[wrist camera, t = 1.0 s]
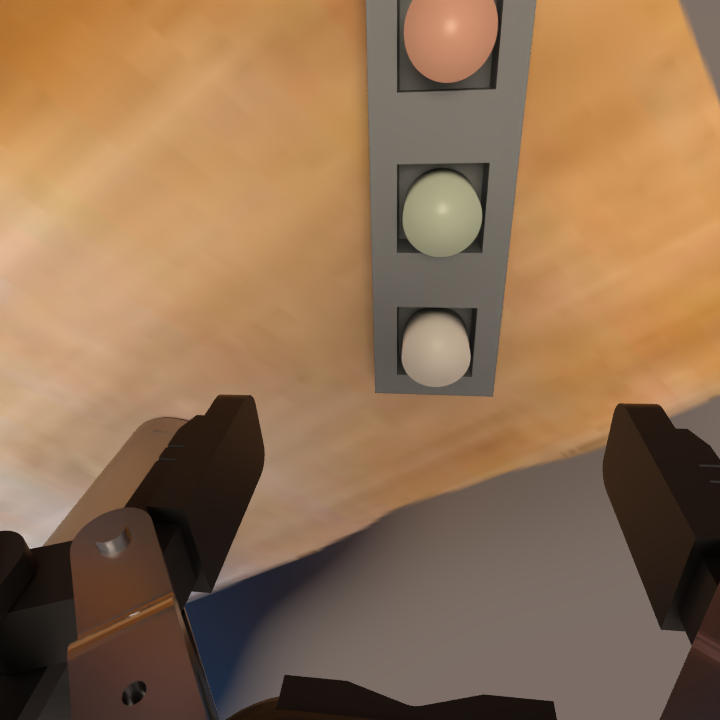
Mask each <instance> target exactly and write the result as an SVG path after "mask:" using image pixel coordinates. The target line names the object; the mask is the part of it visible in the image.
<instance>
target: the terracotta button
mask: <svg viewBox="0 0 720 720" xmlns="http://www.w3.org/2000/svg"><path fill="white" fill-rule="evenodd" d="M497 30H498V15H497V10H496V5H495V3H494V0H412V2H411V4H410V6H409V9H408V11H407V15H406V18H405V24H404V42H405V47H406V51H407V54H408V56H409V58H410V60H411V62H412V64H413V65H414V66H415V68H416V69H417V70H418V71H419V72H420V73H421V74H423V75H424V76H425V77H427V78H429V79H431V80H433V81H436V82H441V83H451V82H457V81H460V80H463V79H465V78H467V77H469V76H471V75H472V74H473V73H475V72H476V71H477V70H478V69H479V68H480V67H481V66H482V65H483V64H484V63H485V61H486V60H487V58H488V57H489V55H490V53H491V51H492V49H493V46H494V44H495V40H496V36H497Z"/></svg>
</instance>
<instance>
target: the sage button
mask: <svg viewBox="0 0 720 720" xmlns="http://www.w3.org/2000/svg"><path fill="white" fill-rule="evenodd" d="M402 220H403V228H404V232H405V234H406V237H407V239H408V240H409V242H410V243H411V244H412V245H413V246H414V247H415V248H416V249H417V250H419V251H420V252H422V253H424V254H426V255H429V256H433V257H448V256H452V255H455V254H457V253H459V252H461V251H463V250H464V249H466V248H467V247H468V246H469V245H470V244H471V243H472V242H473V241H474V239H475V238H476V236H477V234H478V232H479V230H480V227H481V223H482V208H481V205H480V202H479V199H478V197H477V194H476V192H475V189H474V187H473V185H472V183H471V182H470V181H469V179H468V178H467V177H466V176H465V175H463V174H462V173H461V172H459V171H457V170H454V169H450V168H435V169H431V170H429V171H426V172H424V173H423V174H421V175H420V176H419V177H418V178H416V179H415V181H414V182H413V183H412V184H411V186H410V187H409V190H408V192H407V195H406V198H405V204H404V210H403V219H402Z"/></svg>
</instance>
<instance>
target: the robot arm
mask: <svg viewBox="0 0 720 720" xmlns="http://www.w3.org/2000/svg"><path fill="white" fill-rule="evenodd" d="M264 456H265V453H264V444H263V439H262V434H261V429H260V424H259V419H258V414H257V409H256V404H255V401H254V398H253V397H252V396H251V395H218V396H217V397H216V399H215V400H214V402H213V403H212V405H211V406H210V408H209V409H208V411H207V413H206V414H205V416H204V415H196V416H195V417H194V418H192V419H191V420H190V421H184V420H180V419H175V418H160V419H154V420H151V421H148V422H146V423H144V424H143V425H141V426H140V427H138V429H137V430H136V431H135V432H134V433H133V435H132V436H131V437H130V438H129V439H128V441H127V442H126V443H125V444H124V446H123V447H122V448H121V449H120V451H119V452H118V453H117V454H116V456H115V457H114V458H113V459H112V460H111V461H110V463H109V464H108V465H107V466H106V468H105V469H104V470H103V471H102V473H101V474H100V475H99V476H98V478H97V479H96V480H95V481H94V483H93V484H92V485H91V486H90V488H89V489H88V490H87V491H86V493H85V494H84V495H83V496H82V498H81V499H80V500H79V501H78V503H77V504H76V505H75V506H74V508H73V509H72V510H71V511H70V513H69V514H68V515H67V516H66V518H65V519H64V520H63V521H62V523H61V524H60V525H59V526H58V527H57V529H56V530H55V531H54V532H53V534H52V535H51V536H50V537H49V539H48V540H47V541H46V542H45V544H44V545H43V546H42V547H38V548H33V549H29V547H28V546H27V544H26V542H25V540H24V538H23V537H22V536H21V535H20V534H18V533H16V532H13V531H0V720H220V718H219V715H218V712H217V710H216V707H215V703H214V700H213V697H212V694H211V691H210V688H209V685H208V682H207V678H206V675H205V672H204V668H203V665H202V662H201V659H200V655H199V652H198V649H197V645H196V642H195V639H194V636H193V632H192V629H191V626H190V623H189V619H188V616H187V613H186V610H185V607H184V606H185V604H186V602H187V600H188V598H189V596H190V593H191V591H194V592H207V593H211V592H212V590H213V587H214V585H215V583H216V580H217V578H218V576H219V573H220V571H221V568H222V566H223V564H224V561H225V559H226V557H227V554H228V552H229V549H230V547H231V545H232V542H233V540H234V538H235V535H236V533H237V530H238V528H239V526H240V523H241V521H242V519H243V516H244V514H245V512H246V509H247V507H248V504H249V502H250V500H251V497H252V495H253V493H254V490H255V488H256V485H257V483H258V481H259V478H260V476H261V473H262V470H263V466H264ZM603 479H604V485H605V488H606V491H607V494H608V496H609V498H610V501H611V503H612V506H613V509H614V511H615V514H616V516H617V519H618V522H619V524H620V527H621V529H622V531H623V534H624V537H625V539H626V542H627V544H628V547H629V550H630V552H631V554H632V557H633V559H634V562H635V565H636V567H637V570H638V572H639V575H640V577H641V580H642V582H643V585H644V588H645V590H646V593H647V595H648V598H649V600H650V603H651V605H652V608H653V611H654V613H655V616H656V618H657V620H658V623H659V626H660V628H661V630H674V631H686V634H687V636H688V638H689V640H690V643H691V645H692V646H691V649H690V651H689V653H688V655H687V658H686V660H685V662H684V665H683V667H682V669H681V671H680V674H679V676H678V678H677V681H676V683H675V685H674V688H673V690H672V692H671V694H670V697H669V699H668V701H667V704H666V706H665V708H664V711H663V713H662V715H661V717H660V720H720V459H719V458H718V456H717V455H716V453H715V452H714V451H713V449H712V448H711V446H710V445H708V444H707V443H705V442H704V441H703V440H702V439H700V438H699V437H697V436H696V435H695V434H693V433H692V432H691V431H689V430H688V429H676V428H675V427H674V426H673V424H672V422H671V421H670V419H669V418H668V416H667V415H666V413H665V411H664V410H663V408H662V407H661V406H660V405H658V404H618V405H617V406H616V408H615V410H614V414H613V419H612V423H611V428H610V432H609V437H608V441H607V446H606V451H605V455H604V459H603ZM226 720H557V718H556V712H555V708H554V702H553V701H544V700H534V699H524V698H514V697H503V696H493V695H479V696H473V697H468V698H462V699H457V700H451V701H446V702H440V703H435V704H429V705H424V706H410V705H406V704H404V703H401V702H399V701H396V700H394V699H391V698H388V697H386V696H384V695H381V694H378V693H376V692H374V691H371V690H368V689H366V688H363V687H361V686H358V685H356V684H353V683H351V682H348V681H342V680H331V679H321V678H311V677H301V676H291V675H285V676H284V680H283V684H282V688H281V693H280V696H279V697H274V698H270V699H267V700H264V701H261V702H258V703H255V704H253V705H251V706H249V707H247V708H244V709H242V710H240V711H239V712H237V713H235V714H234V715H232V716H231V717H229V718H227V719H226Z"/></svg>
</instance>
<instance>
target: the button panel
mask: <svg viewBox="0 0 720 720" xmlns="http://www.w3.org/2000/svg"><path fill="white" fill-rule="evenodd" d="M411 2H412V0H366V32H367V73H368V115H369V156H370V198H371V239H372V280H373V322H374V363H375V393H396V394H427V395H459V396H490V397H493V390H494V381H495V372H496V363H497V354H498V345H499V336H500V327H501V318H502V309H503V299H504V290H505V281H506V272H507V263H508V254H509V245H510V236H511V227H512V218H513V209H514V199H515V190H516V181H517V172H518V163H519V154H520V145H521V136H522V127H523V118H524V108H525V99H526V90H527V81H528V72H529V63H530V54H531V45H532V36H533V27H534V17H535V8H536V0H494V3H495V5H496V10H497V15H498V30H497V36H496V40H495V44H494V46H493V49H492V51H491V53H490V55H489V57H488V58H487V60H486V61H485V63H484V64H483V65H482V66H481V67H480V68H479V69H478V70H477V71H476V72H475V73H473V74H472V75H471V76H469V77H467V78H465V79H463V80H460V81H457V82H451V83H441V82H436V81H433V80H431V79H429V78H427V77H425V76H424V75H423V74H421V73H420V72H419V71H418V70H417V69H416V68H415V66H414V65H413V64H412V62H411V60H410V58H409V56H408V54H407V51H406V47H405V42H404V24H405V18H406V15H407V11H408V9H409V6H410V4H411ZM435 168H450V169H454V170H457V171H459V172H461V173H462V174H463V175H465V176H466V177H467V178H468V179H469V181H470V182H471V183H472V185H473V187H474V189H475V192H476V194H477V197H478V199H479V202H480V205H481V208H482V223H481V227H480V230H479V232H478V234H477V236H476V238H475V239H474V241H473V242H472V243H471V244H470V245H469V246H468V247H467V248H466V249H464V250H463V251H461V252H459V253H457V254H455V255H452V256H448V257H433V256H429V255H426V254H424V253H422V252H420V251H419V250H417V249H416V248H415V247H414V246H413V245H412V244H411V243H410V242H409V240H408V239H407V237H406V234H405V232H404V228H403V220H402V219H403V210H404V204H405V198H406V195H407V192H408V190H409V187H410V186H411V184H412V183H413V182H414V181H415V179H416V178H418V177H419V176H420V175H421V174H423V173H424V172H426V171H429V170H431V169H435ZM425 307H435V308H449V309H451V310H453V311H455V312H456V313H457V314H458V315H459V316H460V317H461V318H462V319H463V321H464V323H465V325H466V329H467V335H468V342H469V348H470V355H471V357H470V364H469V367H468V369H467V371H466V372H465V374H464V375H463V376H462V377H461V378H460V379H459V380H457V381H456V382H454V383H452V384H450V385H447V386H442V387H429V386H425V385H422V384H420V383H417V382H416V381H414V380H413V379H412V378H411V377H410V376H409V375H408V374H407V373H406V371H405V369H404V367H403V364H402V346H403V334H404V328H405V325H406V323H407V321H408V319H409V318H410V317H411V316H412V315H413V314H414V313H415V312H417V311H418V310H420V309H422V308H425Z"/></svg>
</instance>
